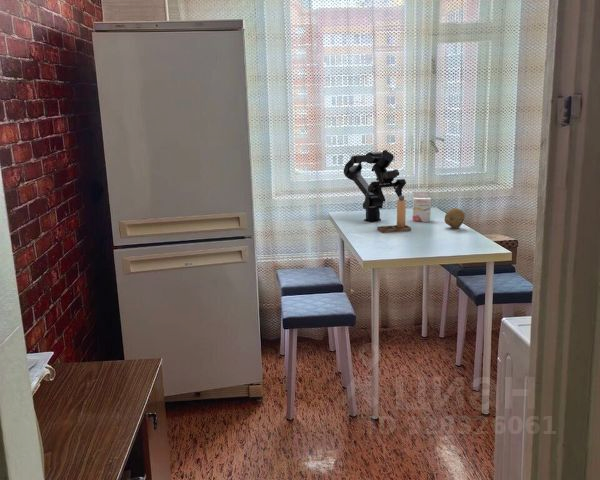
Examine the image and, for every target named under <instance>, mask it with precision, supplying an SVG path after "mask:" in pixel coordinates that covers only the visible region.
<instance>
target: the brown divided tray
mask: <svg viewBox="0 0 600 480" xmlns="http://www.w3.org/2000/svg"><path fill="white" fill-rule="evenodd" d="M376 230H377V231H379V232H380V233H381V234H388V233H401V232H412V231H411V230H412V227H411V226H408V225H406V224H405V228H397V224H395V225H382V226H377V227H376Z"/></svg>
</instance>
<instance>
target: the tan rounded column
mask: <svg viewBox="0 0 600 480" xmlns="http://www.w3.org/2000/svg"><path fill="white" fill-rule="evenodd" d="M406 205H407V199H405V196H404V195H402V196H399V197H398V199H397V200H396V225H397V228H405V225H406V219H407V218H406V214H407V212H406V210H407V206H406Z"/></svg>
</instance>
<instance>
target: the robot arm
mask: <svg viewBox="0 0 600 480" xmlns="http://www.w3.org/2000/svg"><path fill="white" fill-rule="evenodd" d="M394 158H395V157H394V155H393V154H392V153H391V152H389V151H388V150H387V149H385V150H382V151H369V152H367V153H365V154H356V155H352V156H351V157H350V160H348V161H347V162H346V163H345V165H344V168H343V174H344V177H346V178H347V179H348V180H351V181H353V182H354V184H355V185H356V186H357V187H358V189H359V190H360V191H361V193H362V194H363V195H364V197H365V198H364V202H362V209H364V210H365V218H364V219H363V221H365V222H372V223H375V222H378V221H382V218H381V212H380V209H382V208H383V206H384V203H385V202H386V197H385V195H384V192H383V190H382V189H383V188H385V189H386V188H393V189H394V192H395V194H396V196H397V197H398V198H399V196H403V189H404V187H405V186H406V185H407V181H406V179H405V178H400V179H396V180H395V178H397V177H399V176H400V172H399V169H397V168H396V169H395V168H394V169H393V170H387V168H389V166H390V165H391V164H392V162H393V160H394ZM362 163H366V164H374V165H372V168H371V172H374V173H375V176H376V180H375V181H371V182H370V184H369V183H368V182H367V181H366V179H365V178H364V177H363V176H362V169H363V165H362ZM354 164H357V165H354ZM394 180H395V182H394Z"/></svg>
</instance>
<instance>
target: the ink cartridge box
mask: <svg viewBox="0 0 600 480" xmlns="http://www.w3.org/2000/svg"><path fill="white" fill-rule="evenodd" d="M431 205H432V198H431V192H430V191H425V190H423V191H416V190H415V191H413V198H412V218H411V219H412V222H416V223H430V222H431V211H432V210H431V207H432V206H431Z"/></svg>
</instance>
